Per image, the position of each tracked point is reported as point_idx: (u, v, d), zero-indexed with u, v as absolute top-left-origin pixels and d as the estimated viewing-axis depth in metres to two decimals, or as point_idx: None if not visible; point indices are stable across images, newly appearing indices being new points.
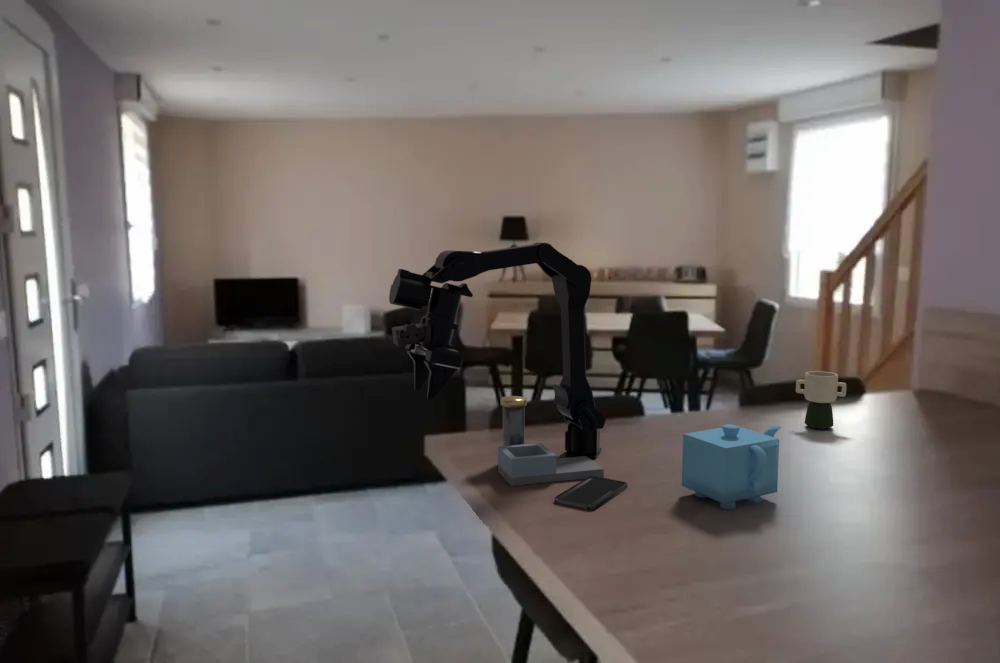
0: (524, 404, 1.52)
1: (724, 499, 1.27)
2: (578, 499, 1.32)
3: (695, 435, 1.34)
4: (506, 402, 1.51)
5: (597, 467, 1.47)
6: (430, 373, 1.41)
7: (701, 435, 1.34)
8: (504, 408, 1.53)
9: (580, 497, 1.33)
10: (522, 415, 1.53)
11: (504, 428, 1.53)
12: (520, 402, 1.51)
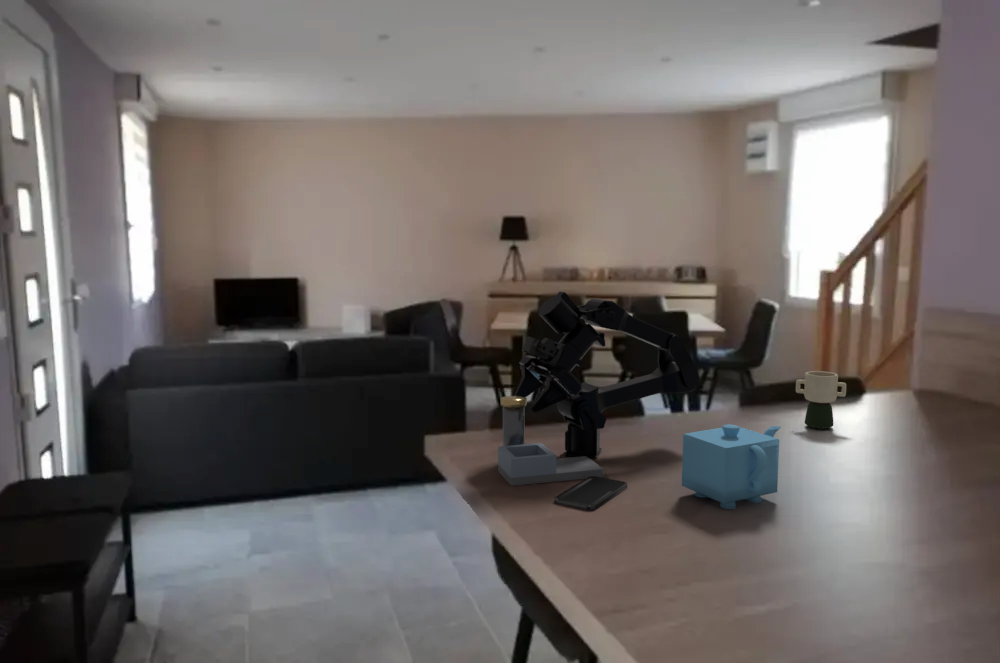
0: (524, 404, 1.52)
1: (724, 499, 1.27)
2: (578, 499, 1.32)
3: (695, 435, 1.34)
4: (506, 402, 1.51)
5: (597, 467, 1.47)
6: (546, 388, 1.49)
7: (701, 435, 1.34)
8: (504, 408, 1.53)
9: (580, 497, 1.33)
10: (522, 415, 1.53)
11: (504, 428, 1.53)
12: (520, 402, 1.51)
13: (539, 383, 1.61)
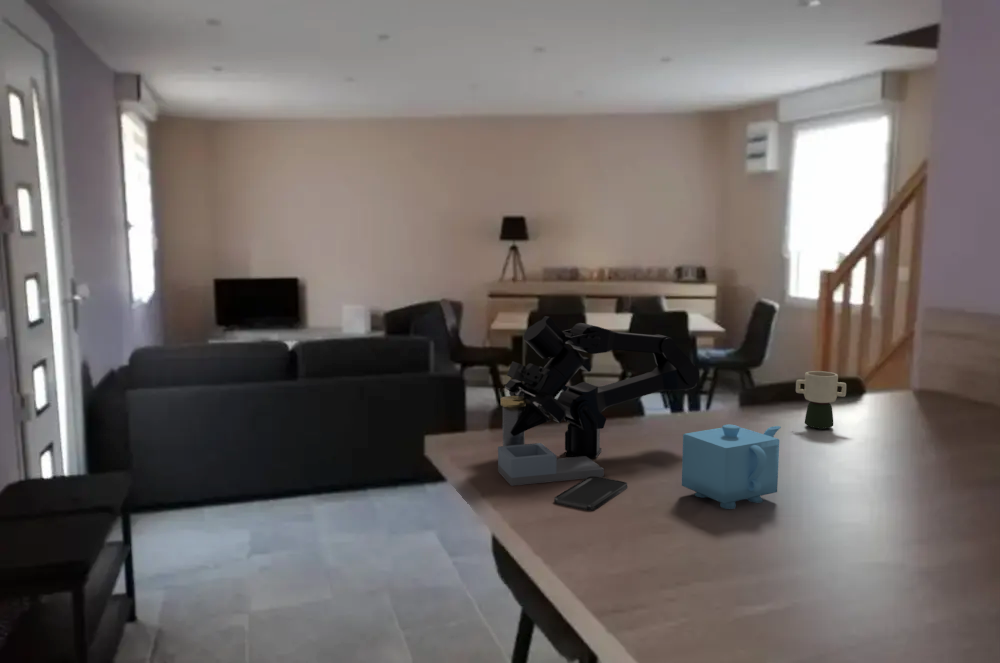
0: (524, 404, 1.52)
1: (724, 499, 1.27)
2: (578, 498, 1.32)
3: (695, 435, 1.34)
4: (506, 402, 1.51)
5: (597, 467, 1.47)
6: (525, 412, 1.51)
7: (701, 435, 1.34)
8: (504, 408, 1.53)
9: (580, 497, 1.33)
10: None
11: (504, 428, 1.53)
12: (520, 402, 1.51)
13: None
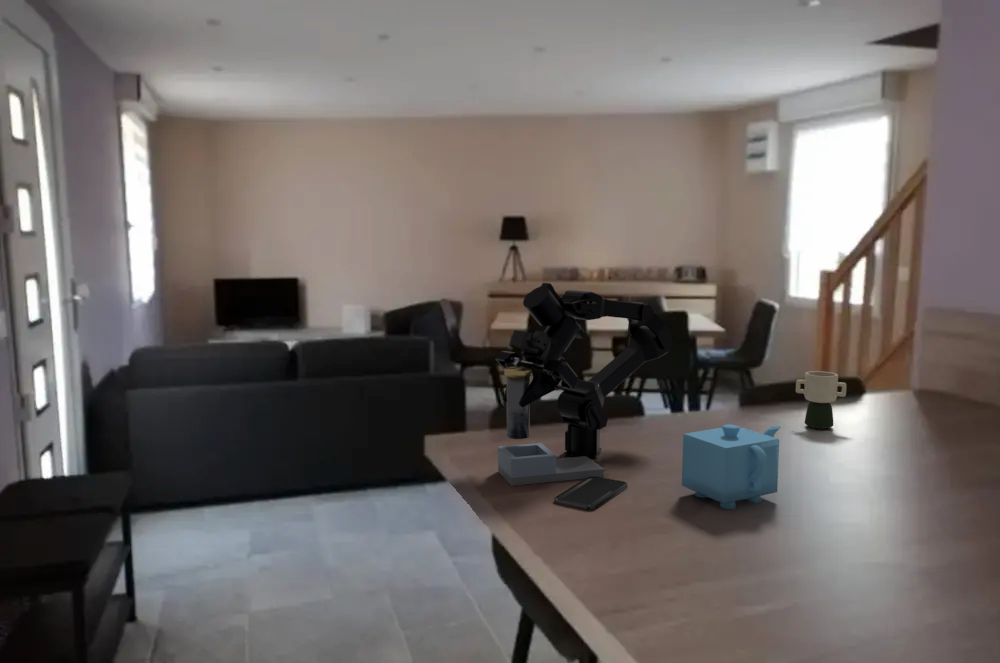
0: (531, 373, 1.46)
1: (724, 499, 1.27)
2: (578, 499, 1.32)
3: (695, 435, 1.34)
4: (514, 372, 1.45)
5: (597, 467, 1.47)
6: (534, 381, 1.45)
7: (701, 435, 1.34)
8: (510, 379, 1.46)
9: (580, 497, 1.33)
10: (528, 385, 1.47)
11: (510, 400, 1.46)
12: (528, 371, 1.45)
13: None
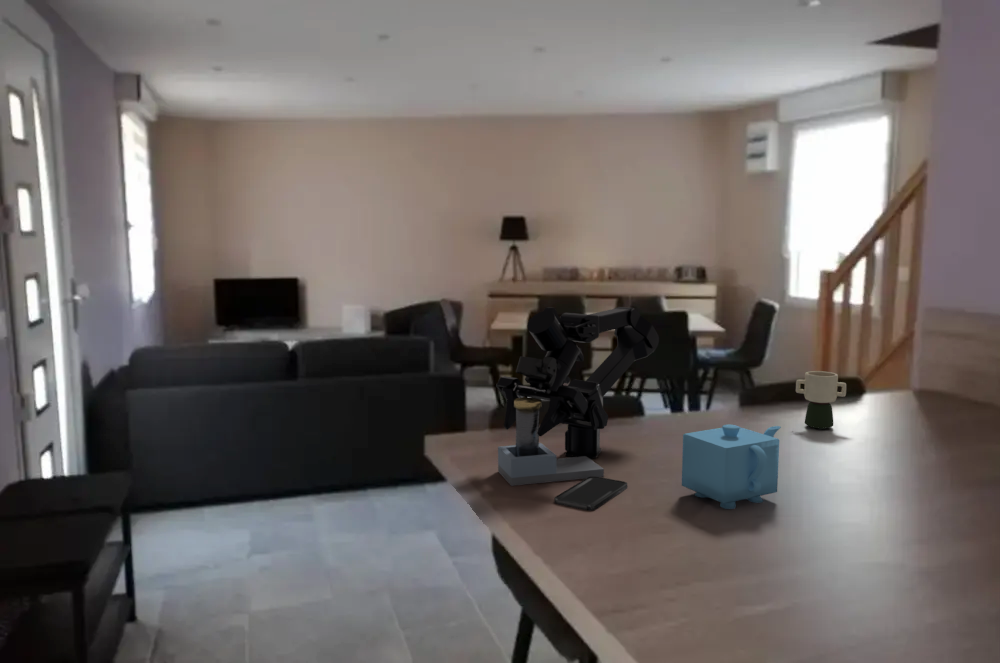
0: (541, 405, 1.45)
1: (724, 499, 1.27)
2: (578, 499, 1.32)
3: (695, 435, 1.34)
4: (526, 404, 1.42)
5: (597, 467, 1.47)
6: (552, 409, 1.42)
7: (701, 435, 1.34)
8: (522, 411, 1.43)
9: (580, 497, 1.33)
10: (538, 417, 1.45)
11: (521, 432, 1.44)
12: (539, 403, 1.44)
13: None
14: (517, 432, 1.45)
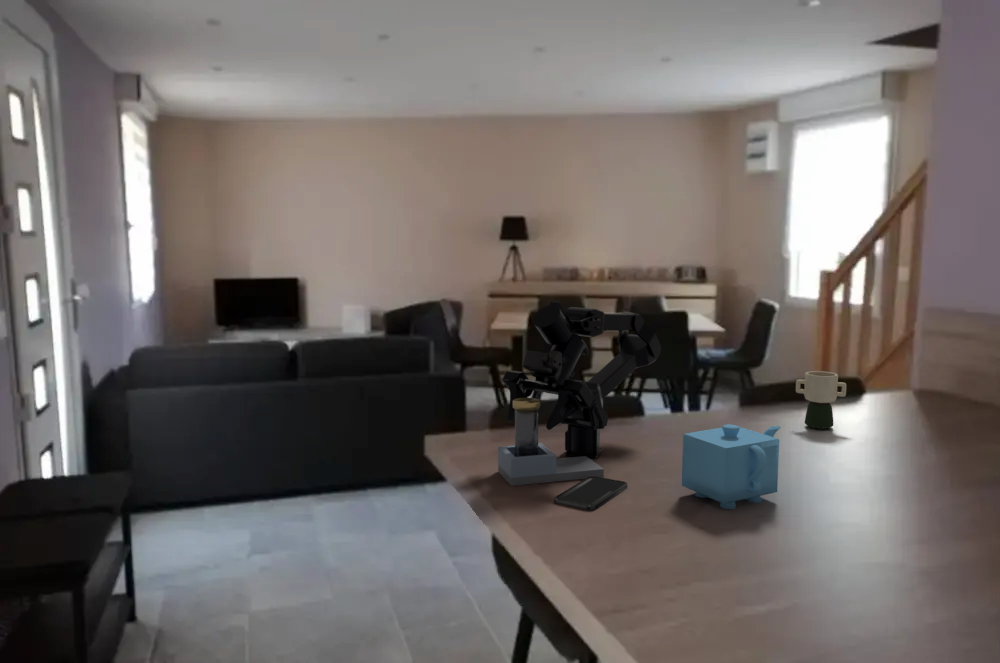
0: (539, 405, 1.44)
1: (724, 499, 1.27)
2: (577, 499, 1.32)
3: (695, 435, 1.34)
4: (525, 405, 1.42)
5: (597, 467, 1.47)
6: (560, 403, 1.43)
7: (701, 435, 1.34)
8: (521, 412, 1.43)
9: (580, 497, 1.33)
10: (537, 417, 1.45)
11: (521, 433, 1.44)
12: (538, 403, 1.43)
13: None
14: (516, 433, 1.44)
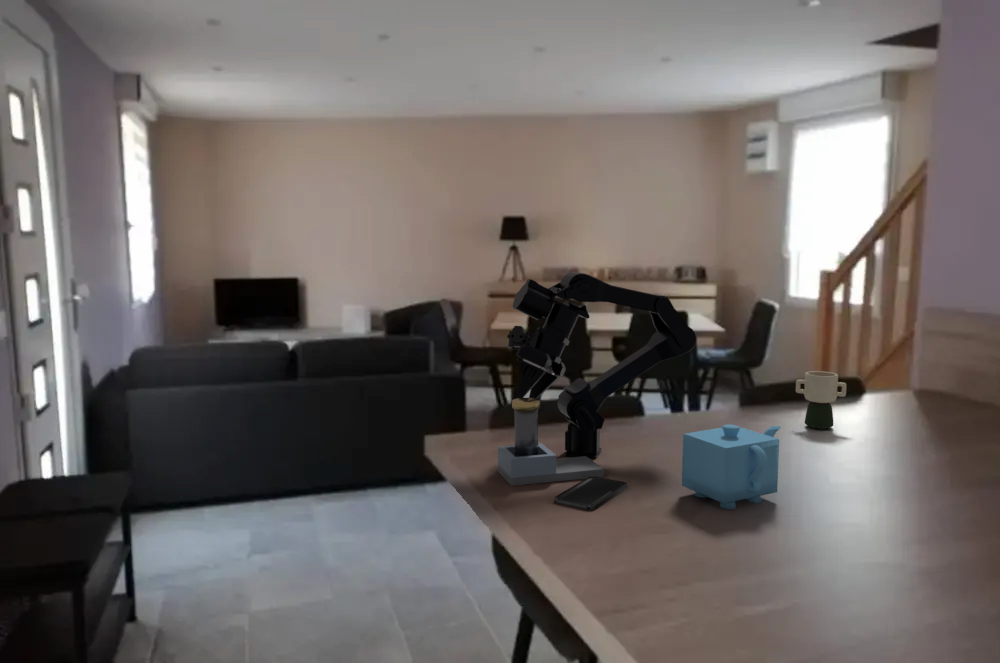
0: (539, 405, 1.44)
1: (724, 499, 1.27)
2: (577, 498, 1.32)
3: (695, 435, 1.34)
4: (525, 405, 1.42)
5: (597, 467, 1.47)
6: None
7: (701, 435, 1.34)
8: (520, 412, 1.43)
9: (580, 497, 1.33)
10: (537, 417, 1.45)
11: (520, 433, 1.44)
12: (538, 403, 1.43)
13: (552, 376, 1.60)
14: (516, 433, 1.44)
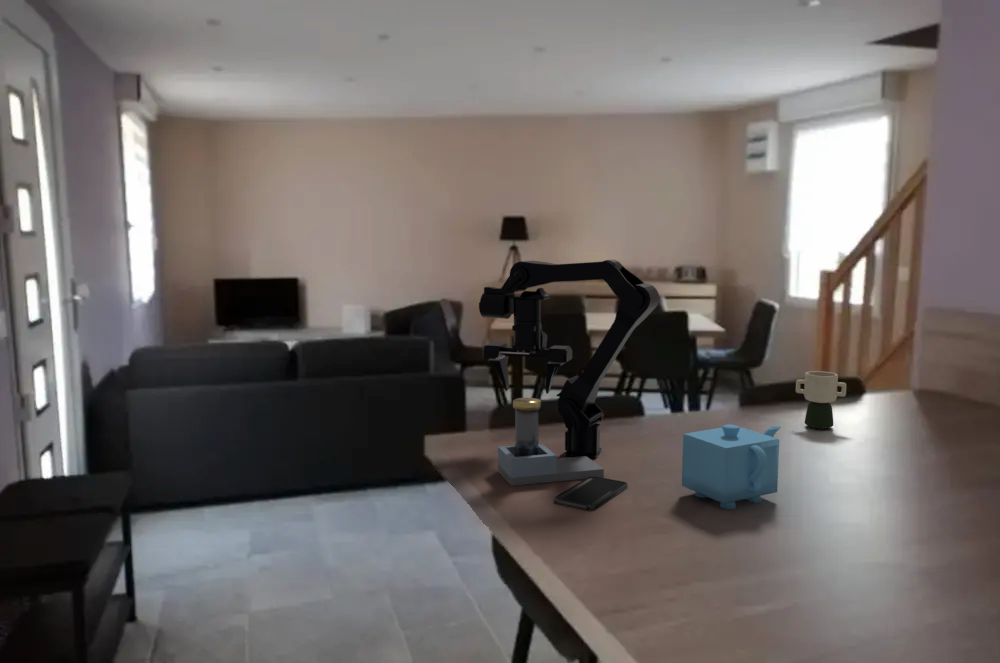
0: (540, 405, 1.44)
1: (724, 499, 1.27)
2: (577, 498, 1.32)
3: (695, 435, 1.34)
4: (526, 405, 1.42)
5: (597, 467, 1.47)
6: None
7: (701, 435, 1.34)
8: (521, 412, 1.43)
9: (580, 497, 1.33)
10: (538, 417, 1.45)
11: (521, 433, 1.43)
12: (539, 403, 1.43)
13: None
14: (517, 433, 1.44)
